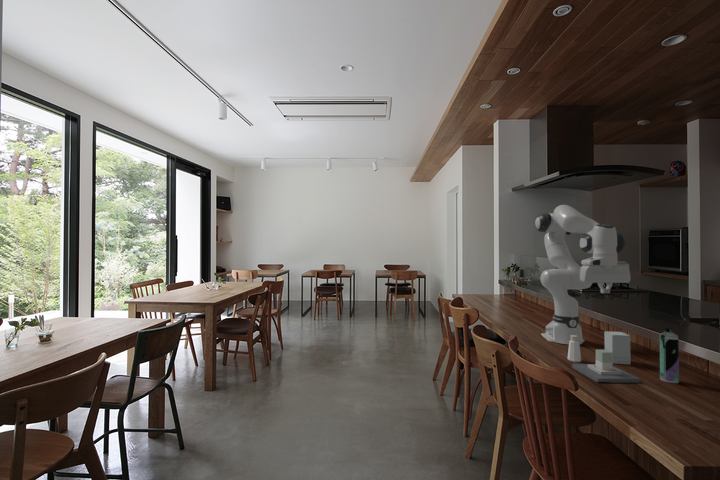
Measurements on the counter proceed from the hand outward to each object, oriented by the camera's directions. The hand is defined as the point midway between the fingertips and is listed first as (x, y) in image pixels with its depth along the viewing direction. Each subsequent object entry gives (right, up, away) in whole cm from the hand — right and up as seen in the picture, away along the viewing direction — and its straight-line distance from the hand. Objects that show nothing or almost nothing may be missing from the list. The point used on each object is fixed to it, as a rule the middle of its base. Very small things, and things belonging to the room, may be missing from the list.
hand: (605, 293), depth 154 cm
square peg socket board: (-9, -31, -12) cm, 34 cm away
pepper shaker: (-10, -31, +6) cm, 33 cm away
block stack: (-9, -30, -12) cm, 33 cm away
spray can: (+12, -31, -18) cm, 38 cm away
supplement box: (+8, -31, +4) cm, 33 cm away
